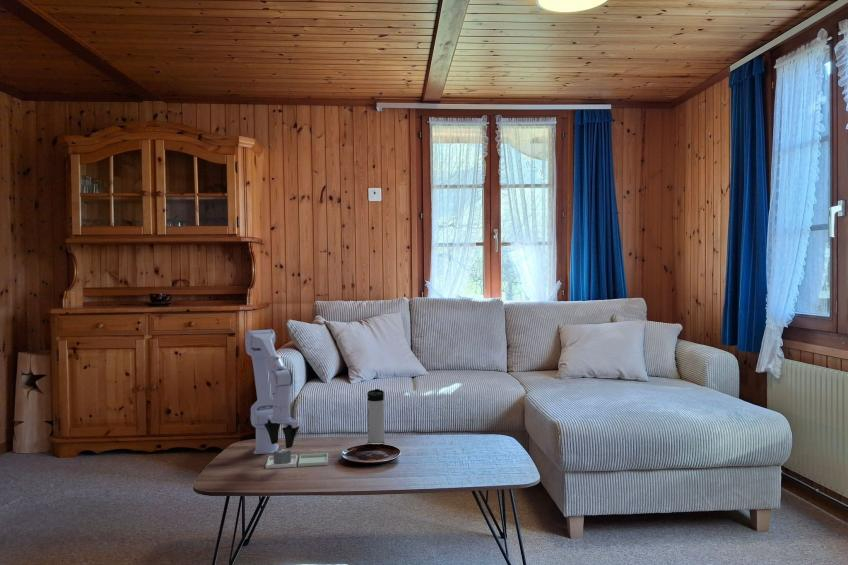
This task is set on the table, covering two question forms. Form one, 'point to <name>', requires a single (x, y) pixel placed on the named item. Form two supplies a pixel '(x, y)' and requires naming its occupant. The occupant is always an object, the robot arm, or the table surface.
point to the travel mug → (375, 416)
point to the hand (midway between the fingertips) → (281, 445)
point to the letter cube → (282, 456)
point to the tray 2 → (313, 459)
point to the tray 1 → (271, 464)
